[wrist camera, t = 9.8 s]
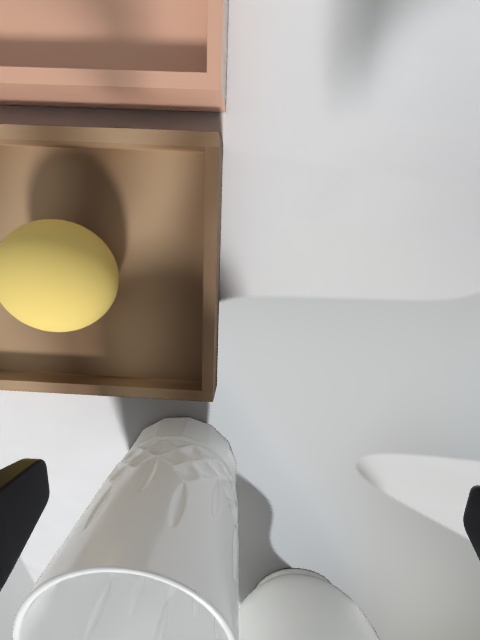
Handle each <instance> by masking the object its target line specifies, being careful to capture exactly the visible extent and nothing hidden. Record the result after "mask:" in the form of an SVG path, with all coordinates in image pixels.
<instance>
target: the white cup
mask: <svg viewBox="0 0 480 640" xmlns="http://www.w3.org/2000/svg"><path fill="white" fill-rule="evenodd" d="M12 640H239V531H238V502H237V493H236V460H235V458H234V455H233V452H232V449H231V447H230V444H229V442H228V440H226V439H225V438H224V437H223V436H222V435H221V434H220V433H219V432H218V431H217V430H216V429H215V428H214V427H213V426H212V425H209V424H206V423H204V422H201V421H198V420H195V419H193V418H190V417H180V418H164V419H162V420H160V421H158V422H156V423H154V424H153V425H151V426H149V427H147V428H145V429H144V430H143V431H142V432H141V434H140V435H139V437H138V438H137V440H136V441H135V442H134V444H133V445H132V447H131V448H130V450H129V451H128V453H127V454H126V455H125V457H124V458H123V459H122V460H121V461H120V462H119V463H118V464H117V465H116V466H115V468H114V470H113V471H112V473H111V474H110V475H109V477H108V478H107V479H106V480H105V482H104V483H103V484H102V486H101V487H100V489H99V490H98V492H97V493H96V495H95V496H94V498H93V499H92V501H91V502H90V504H89V505H88V507H87V508H86V510H85V511H84V513H83V514H82V516H81V517H80V519H79V520H78V521H77V523H76V524H75V526H74V527H73V529H72V530H71V532H70V533H69V535H68V536H67V538H66V539H65V541H64V542H63V544H62V545H61V547H60V548H59V550H58V551H57V553H56V554H55V556H54V557H53V559H52V560H51V561H50V563H49V564H48V566H47V567H46V569H45V570H44V572H43V573H42V575H41V576H40V578H39V579H38V581H37V582H36V584H35V585H34V587H33V588H32V589H31V591H30V592H29V594H28V595H27V597H26V598H25V600H24V601H23V603H22V604H21V606H20V608H19V610H18V612H17V614H16V617H15V620H14V624H13V630H12Z"/></svg>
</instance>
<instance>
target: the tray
mask: <svg viewBox="0 0 480 640" xmlns="http://www.w3.org/2000/svg"><path fill="white" fill-rule="evenodd" d="M222 162H223V143H222V139H221V136H220V133H219V132H216V131H187V130H159V129H130V128H102V127H73V126H45V125H16V124H0V243H1V242H2V240H3V239H4V238H5V237H6V236H7V235H8V234H9V233H10V232H12V231H13V230H15V229H16V228H18V227H20V226H22V225H24V224H26V223H30V222H33V221H37V220H43V219H58V220H65V221H69V222H73V223H76V224H78V225H81V226H83V227H85V228H87V229H88V230H90V231H92V232H93V233H95V234H96V235H97V236H98V237H99V238H100V239H102V241H103V242H104V243H105V244H106V245H107V246H108V248H109V249H110V251H111V252H112V254H113V256H114V258H115V261H116V263H117V267H118V272H119V286H118V291H117V295H116V298H115V300H114V302H113V304H112V305H111V307H110V308H109V310H108V311H107V312H106V313H105V314H104V315H103V316H102V317H101V318H100V319H98V320H97V321H96V322H94V323H92V324H91V325H89V326H86V327H84V328H82V329H78V330H74V331H68V332H49V331H44V330H39V329H36V328H33V327H31V326H28V325H26V324H24V323H22V322H21V321H19V320H18V319H16V318H15V317H14V316H13V315H11V314H10V313H9V312H8V311H7V310H6V309H5V308H4V306H3V305H2V304H1V302H0V390H10V391H28V392H46V393H64V394H81V395H99V396H117V397H135V398H153V399H171V400H189V401H207V402H213V399H214V395H215V390H216V386H217V356H218V315H219V278H220V239H221V201H222Z"/></svg>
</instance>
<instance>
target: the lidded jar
mask: <svg viewBox="0 0 480 640" xmlns="http://www.w3.org/2000/svg"><path fill="white" fill-rule="evenodd" d="M239 640H380V639H379V637H378V635H377V633H376V631H375V630H374V628H373V627H372V625H371V623H370V622H369V620H368V619H367V617H366V616H365V614H364V613H363V612H362V610H361V609H360V608H359V607H358V606H357V605H356V604H355V603H354V602H353V601H352V600H351V598H350V597H349V596H347V595H346V594H345V593H344V592H342V591H341V590H340V589H338V588H337V587H335V586H334V585H332V584H331V583H330V581H328V580H327V579H326V578H325V577H324V576H322V575H320V574H318V573H316V572H314V571H310V570H306V569H300V568H289V569H283V570H279V571H276V572H273V573H271V574H269V575H268V576H266V577H265V578H263V579H262V580H261V581H260V582H259V583H258V585H257V586H256V588H255V589H254V590H253V591H252V592H251V593H250V594H249V595H248V596H247V597H246V598H245V599H244V601H243V602H242V603H241V605H240V606H239Z"/></svg>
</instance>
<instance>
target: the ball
mask: <svg viewBox="0 0 480 640" xmlns="http://www.w3.org/2000/svg"><path fill="white" fill-rule="evenodd" d="M118 286H119V272H118V267H117V263H116V261H115V258H114V256H113V254H112V252H111V251H110V249H109V248H108V246H107V245H106V244H105V243H104V242H103V241H102V239H100V238H99V237H98V236H97V235H96V234H95V233H93V232H92V231H90V230H88V229H87V228H85V227H83V226H81V225H78V224H76V223H73V222H69V221H65V220H58V219H43V220H37V221H33V222H30V223H26V224H24V225H22V226H20V227H18V228H16V229H15V230H13V231H12V232H10V233H9V234H8V235H7V236H6V237H5V238H4V239H3V240H2V242H1V243H0V302H1V304H2V305H3V306H4V308H5V309H6V310H7V311H8V312H9V313H10V314H11V315H13V316H14V317H15V318H16V319H18V320H19V321H21V322H22V323H24V324H26V325H28V326H31V327H33V328H36V329H39V330H44V331H49V332H68V331H74V330H78V329H82V328H84V327H86V326H89V325H91V324H92V323H94V322H96V321H97V320H98V319H100V318H101V317H102V316H103V315H104V314H105V313H106V312H107V311H108V310H109V308H110V307H111V305H112V304H113V302H114V300H115V298H116V295H117V291H118Z"/></svg>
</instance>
